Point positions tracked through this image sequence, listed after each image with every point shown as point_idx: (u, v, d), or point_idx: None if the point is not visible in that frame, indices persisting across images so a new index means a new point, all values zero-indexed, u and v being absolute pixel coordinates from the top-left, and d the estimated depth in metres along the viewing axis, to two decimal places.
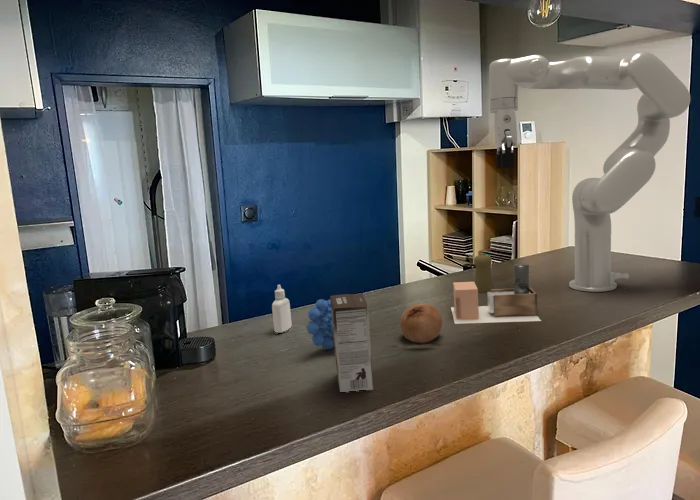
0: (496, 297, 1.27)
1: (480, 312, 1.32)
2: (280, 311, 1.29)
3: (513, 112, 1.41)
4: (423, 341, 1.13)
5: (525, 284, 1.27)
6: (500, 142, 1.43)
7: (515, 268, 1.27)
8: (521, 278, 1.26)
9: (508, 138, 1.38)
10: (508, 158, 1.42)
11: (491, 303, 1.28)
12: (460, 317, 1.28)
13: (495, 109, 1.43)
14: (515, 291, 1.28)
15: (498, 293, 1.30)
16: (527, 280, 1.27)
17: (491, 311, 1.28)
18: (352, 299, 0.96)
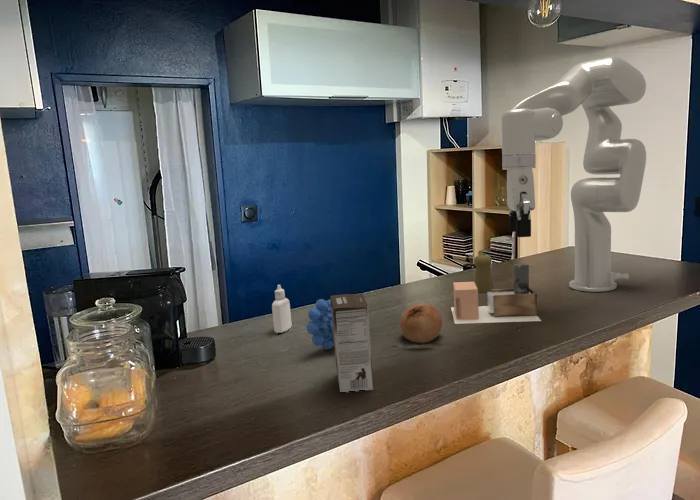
0: (496, 297, 1.27)
1: (480, 312, 1.32)
2: (280, 311, 1.29)
3: (530, 172, 1.19)
4: (423, 341, 1.13)
5: (525, 284, 1.27)
6: (515, 206, 1.21)
7: (515, 268, 1.27)
8: (521, 278, 1.26)
9: (525, 204, 1.16)
10: (524, 226, 1.20)
11: (491, 303, 1.28)
12: (460, 317, 1.28)
13: (509, 167, 1.21)
14: (515, 291, 1.28)
15: (498, 293, 1.30)
16: (527, 280, 1.27)
17: (491, 311, 1.28)
18: (352, 299, 0.96)
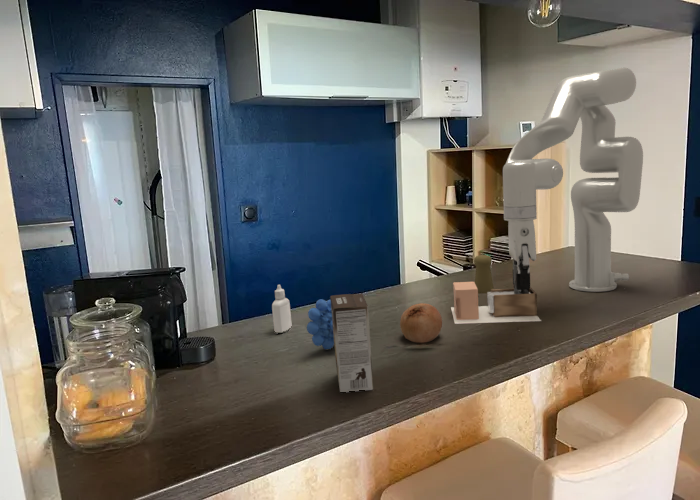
0: (496, 297, 1.27)
1: (480, 312, 1.32)
2: (280, 311, 1.29)
3: (532, 224, 1.21)
4: (423, 341, 1.13)
5: None
6: (517, 257, 1.23)
7: (515, 268, 1.27)
8: None
9: (525, 265, 1.21)
10: (524, 279, 1.25)
11: (491, 303, 1.28)
12: (460, 317, 1.28)
13: (510, 219, 1.23)
14: (515, 291, 1.28)
15: (498, 293, 1.30)
16: None
17: (491, 311, 1.28)
18: (352, 299, 0.96)
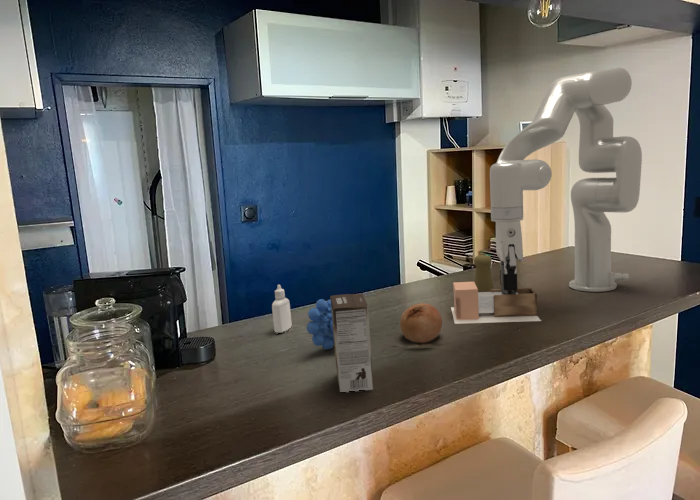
0: (496, 297, 1.27)
1: None
2: (280, 311, 1.29)
3: (518, 225, 1.22)
4: (423, 341, 1.13)
5: None
6: (503, 258, 1.23)
7: (502, 269, 1.27)
8: None
9: (512, 266, 1.21)
10: (511, 280, 1.25)
11: (478, 303, 1.28)
12: (460, 317, 1.28)
13: (497, 219, 1.24)
14: (502, 292, 1.28)
15: (486, 293, 1.30)
16: None
17: None
18: (352, 299, 0.96)
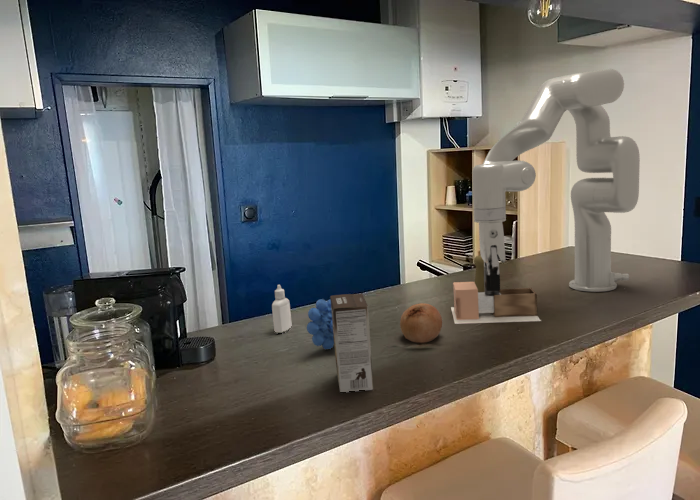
0: (496, 297, 1.27)
1: None
2: (280, 311, 1.29)
3: (500, 226, 1.22)
4: (423, 341, 1.13)
5: None
6: (486, 259, 1.24)
7: (485, 269, 1.28)
8: None
9: (494, 266, 1.22)
10: (494, 280, 1.26)
11: None
12: (460, 317, 1.28)
13: (480, 220, 1.24)
14: (486, 292, 1.29)
15: None
16: None
17: None
18: (352, 299, 0.96)
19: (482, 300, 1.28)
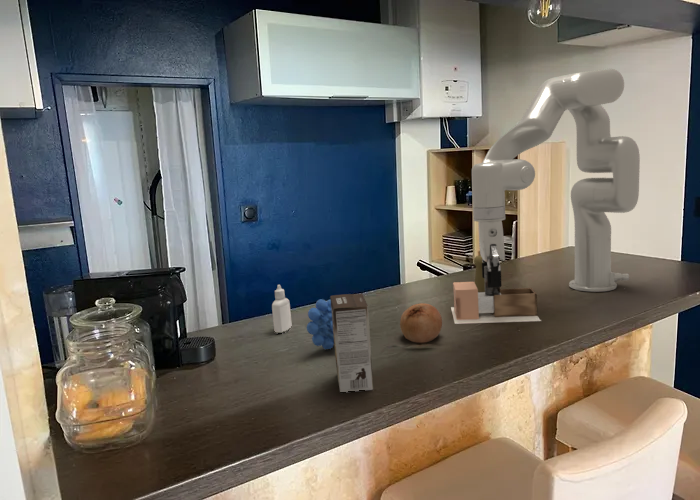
0: (496, 297, 1.27)
1: None
2: (280, 311, 1.29)
3: (500, 225, 1.22)
4: (423, 341, 1.13)
5: None
6: (485, 258, 1.24)
7: (486, 269, 1.28)
8: None
9: (494, 257, 1.20)
10: (495, 277, 1.23)
11: None
12: (460, 317, 1.28)
13: (479, 219, 1.24)
14: (486, 292, 1.29)
15: None
16: None
17: None
18: (352, 299, 0.96)
19: (482, 300, 1.28)
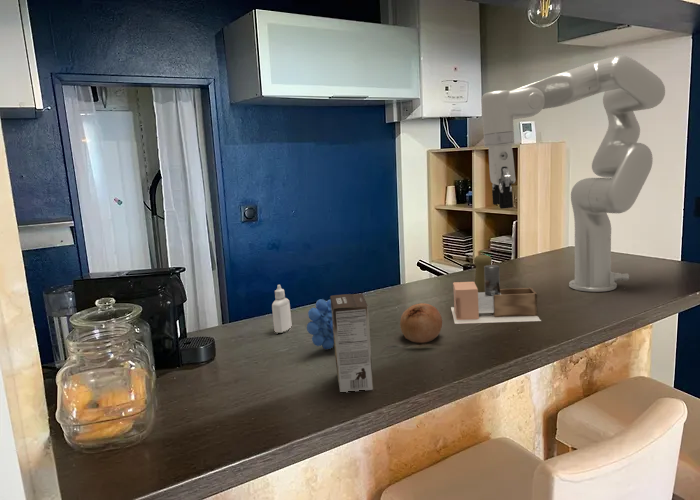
0: (496, 297, 1.27)
1: None
2: (280, 311, 1.29)
3: (510, 148, 1.30)
4: (423, 341, 1.13)
5: (496, 285, 1.27)
6: (497, 180, 1.32)
7: (486, 269, 1.28)
8: (491, 279, 1.27)
9: (506, 177, 1.28)
10: (507, 198, 1.31)
11: None
12: (460, 317, 1.28)
13: (490, 145, 1.32)
14: (486, 292, 1.29)
15: None
16: (497, 281, 1.28)
17: None
18: (352, 299, 0.96)
19: (482, 300, 1.28)
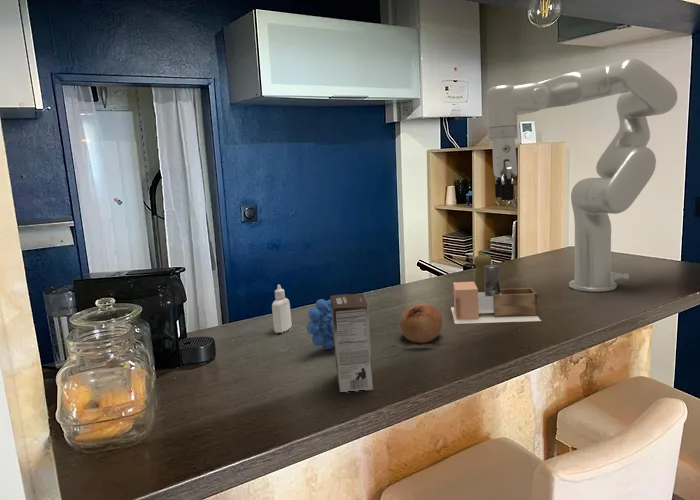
0: (496, 297, 1.27)
1: None
2: (280, 311, 1.29)
3: (513, 141, 1.34)
4: (423, 341, 1.13)
5: (496, 285, 1.27)
6: (499, 173, 1.35)
7: (486, 269, 1.28)
8: (491, 279, 1.27)
9: (508, 169, 1.31)
10: (508, 190, 1.35)
11: None
12: (460, 317, 1.28)
13: (494, 138, 1.36)
14: (486, 292, 1.29)
15: None
16: (497, 281, 1.28)
17: None
18: (352, 299, 0.96)
19: (482, 300, 1.28)
